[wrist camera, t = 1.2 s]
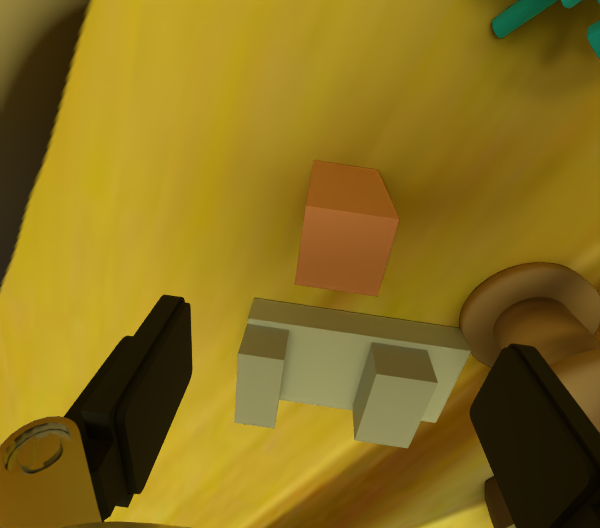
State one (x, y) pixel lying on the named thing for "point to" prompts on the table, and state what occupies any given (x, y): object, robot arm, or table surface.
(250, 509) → the table surface
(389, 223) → the orange rectangular block
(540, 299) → the bobbin
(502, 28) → the teal lobed piece
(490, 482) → the beer bottle
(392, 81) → the table surface
